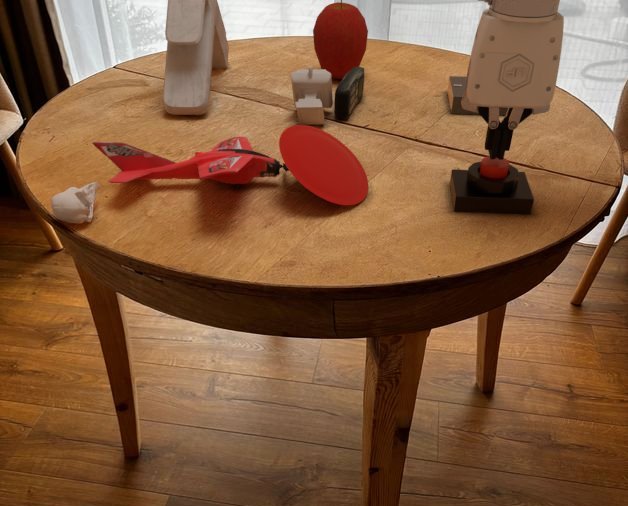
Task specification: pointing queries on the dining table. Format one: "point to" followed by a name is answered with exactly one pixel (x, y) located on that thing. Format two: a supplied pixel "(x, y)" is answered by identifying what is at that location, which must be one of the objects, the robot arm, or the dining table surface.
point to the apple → (340, 38)
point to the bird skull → (75, 203)
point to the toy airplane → (193, 163)
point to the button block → (490, 191)
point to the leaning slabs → (192, 54)
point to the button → (494, 167)
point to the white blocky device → (311, 94)
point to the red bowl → (323, 165)
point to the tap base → (461, 96)
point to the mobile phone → (349, 92)
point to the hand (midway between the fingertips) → (495, 154)
